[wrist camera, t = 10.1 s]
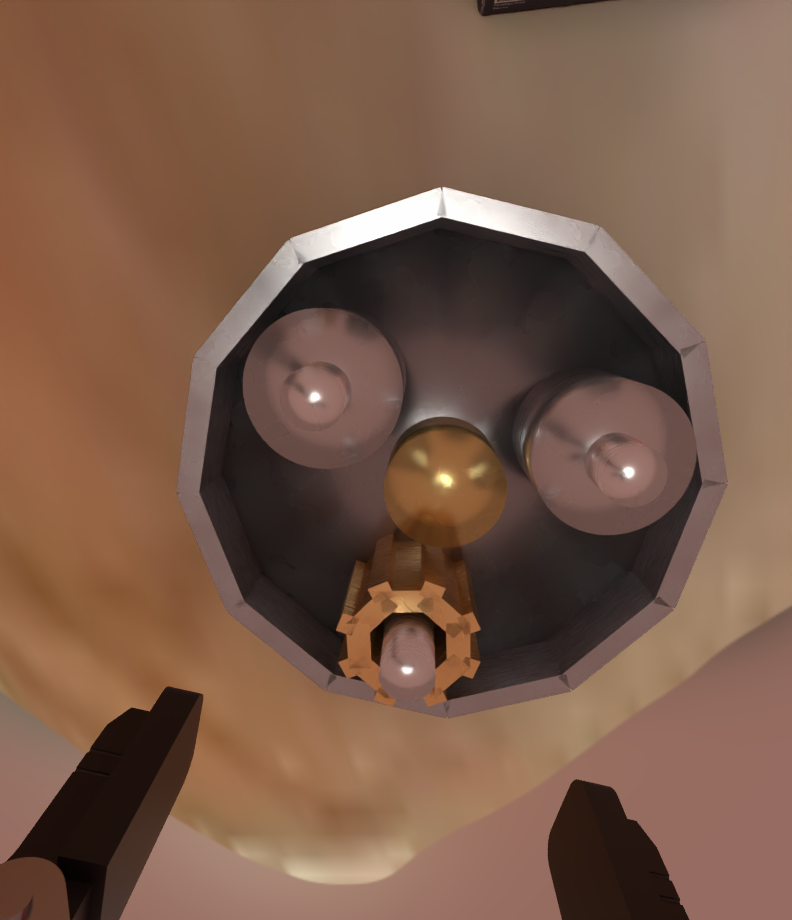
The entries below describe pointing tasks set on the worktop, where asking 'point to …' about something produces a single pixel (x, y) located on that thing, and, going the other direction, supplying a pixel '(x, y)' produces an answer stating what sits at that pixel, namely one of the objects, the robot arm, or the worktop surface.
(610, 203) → the worktop surface
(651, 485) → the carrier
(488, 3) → the small box
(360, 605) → the planet gear
